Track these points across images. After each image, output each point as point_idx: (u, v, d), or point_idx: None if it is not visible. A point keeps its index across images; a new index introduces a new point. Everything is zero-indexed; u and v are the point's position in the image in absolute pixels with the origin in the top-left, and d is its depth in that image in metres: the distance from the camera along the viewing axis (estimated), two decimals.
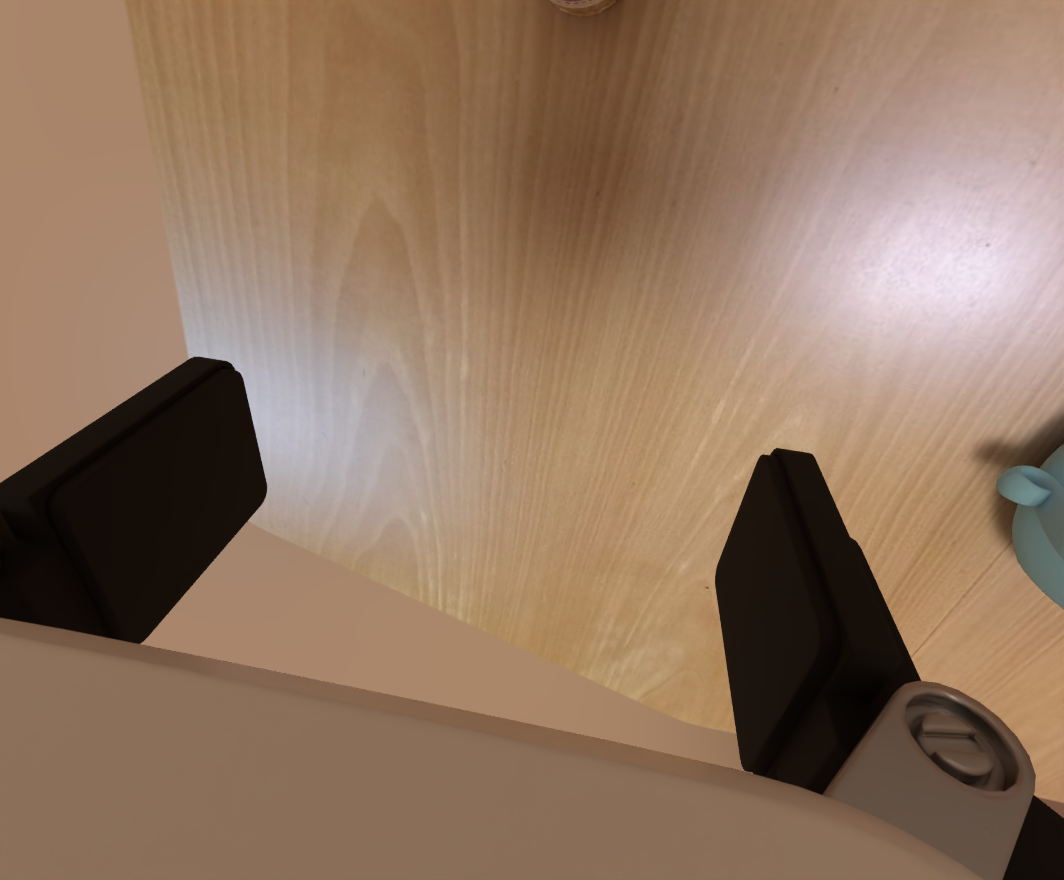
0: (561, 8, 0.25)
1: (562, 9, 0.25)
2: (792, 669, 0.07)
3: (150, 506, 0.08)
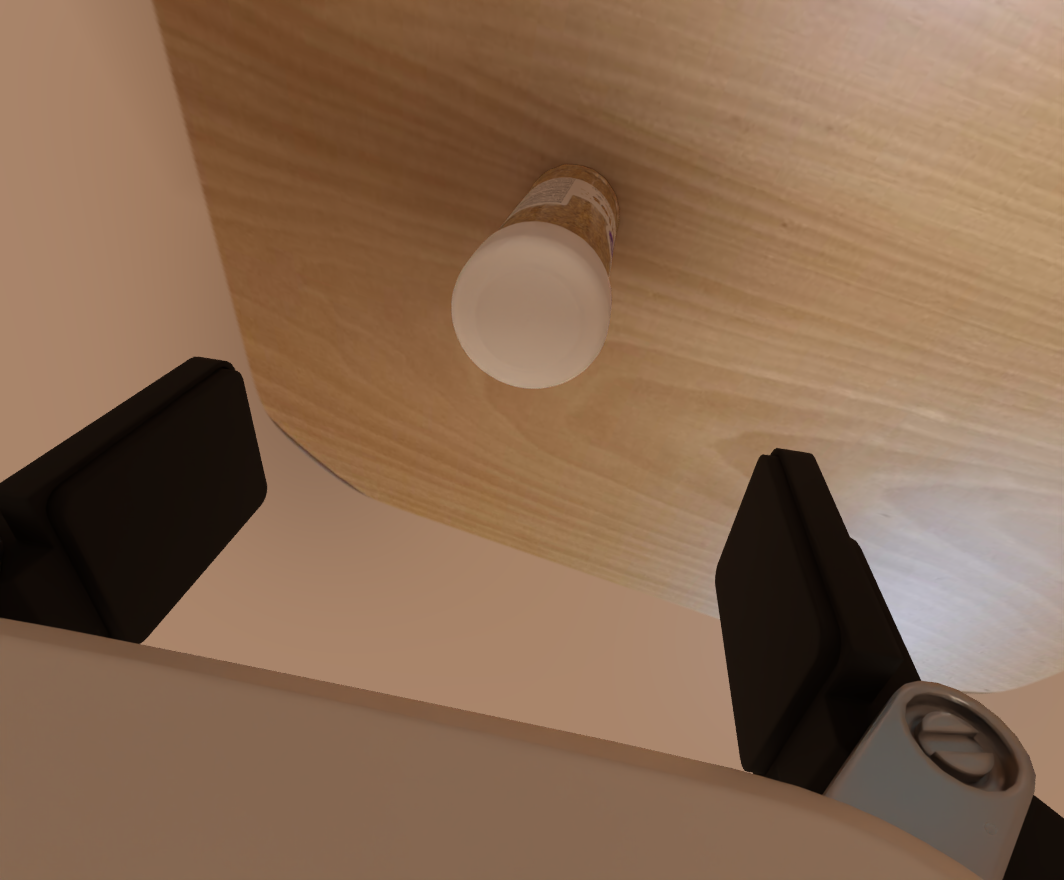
0: None
1: None
2: (792, 669, 0.07)
3: (150, 506, 0.08)
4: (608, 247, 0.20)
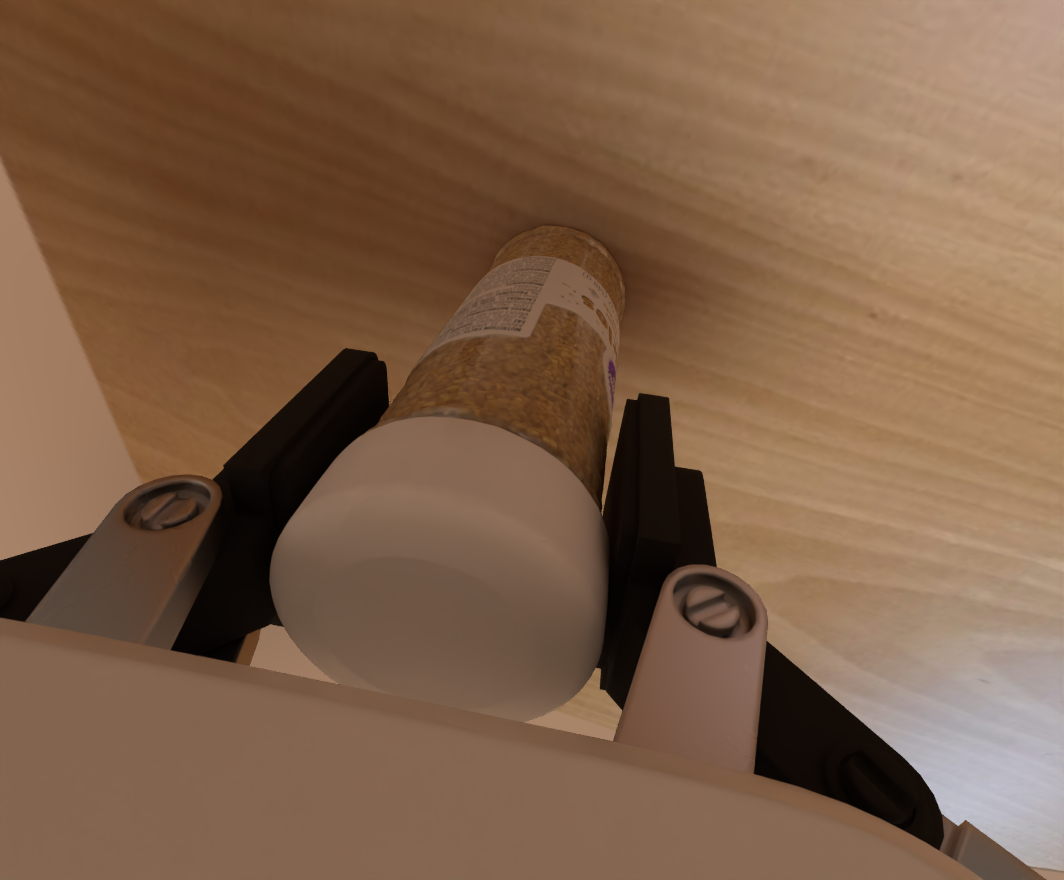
0: None
1: None
2: (611, 566, 0.08)
3: None
4: (606, 400, 0.11)
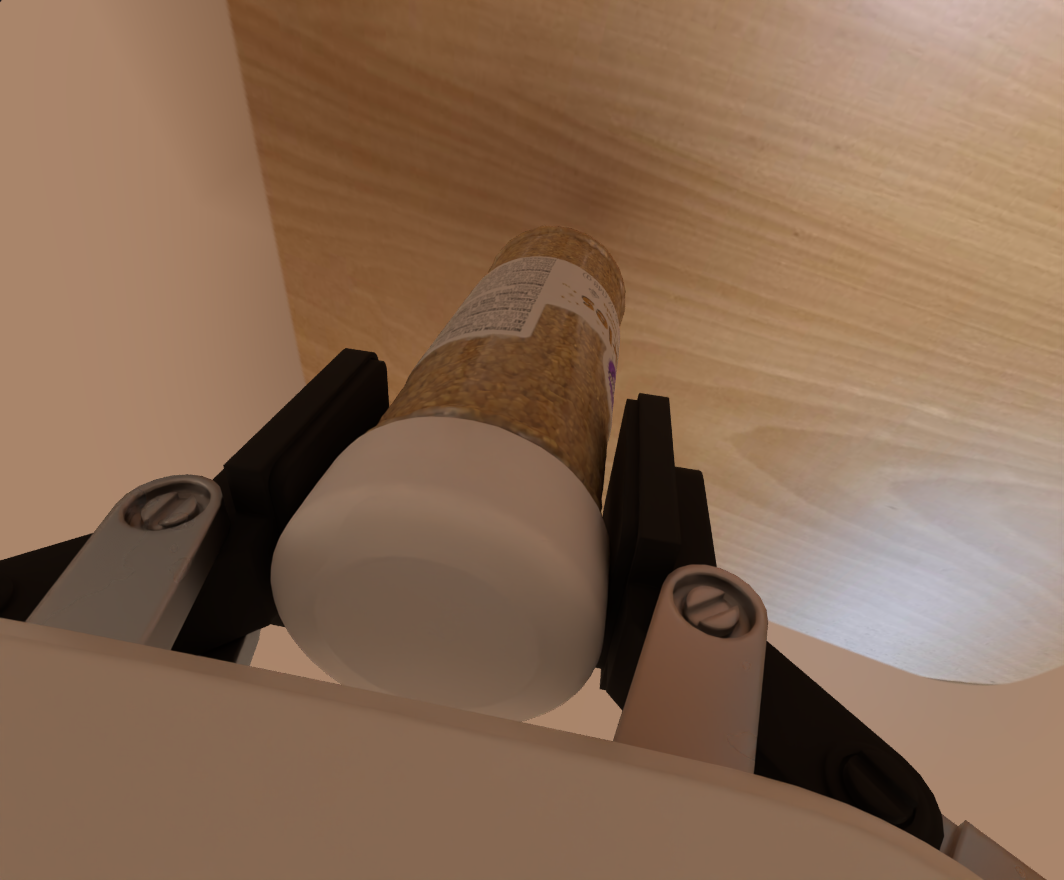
0: None
1: None
2: (611, 566, 0.08)
3: None
4: (606, 399, 0.11)
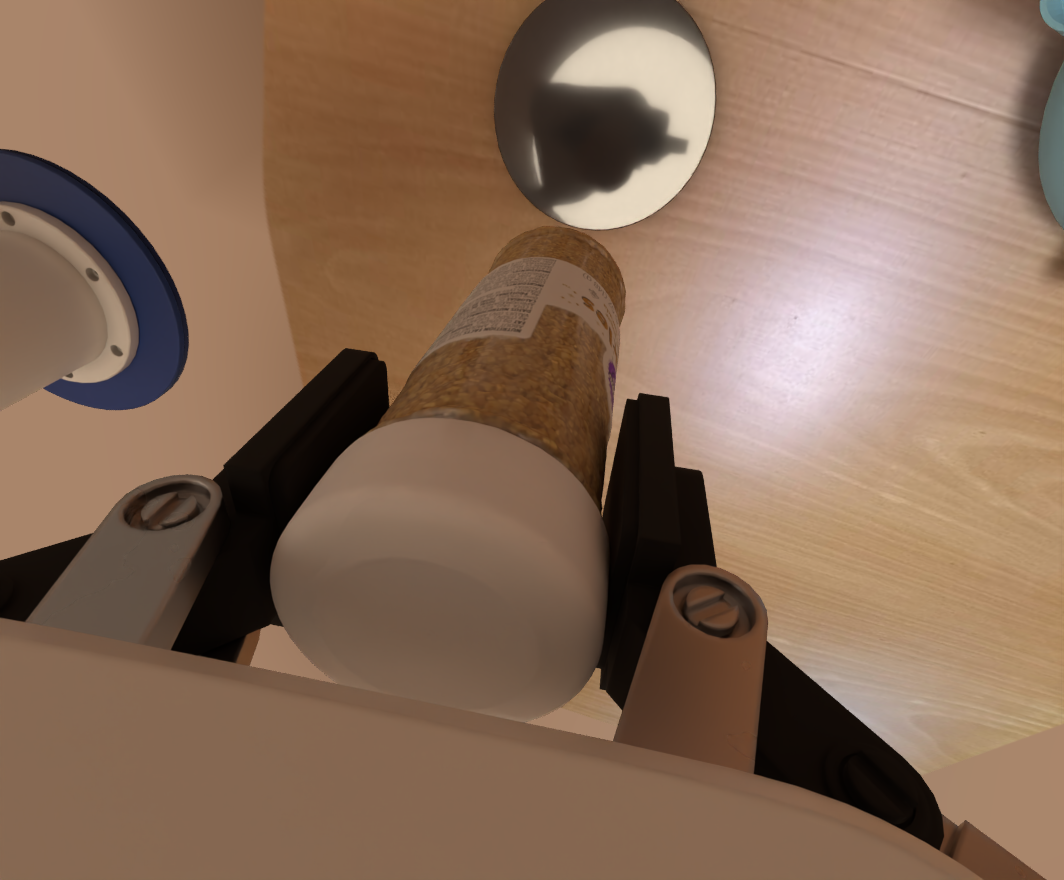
0: None
1: None
2: (611, 566, 0.08)
3: None
4: (606, 400, 0.11)
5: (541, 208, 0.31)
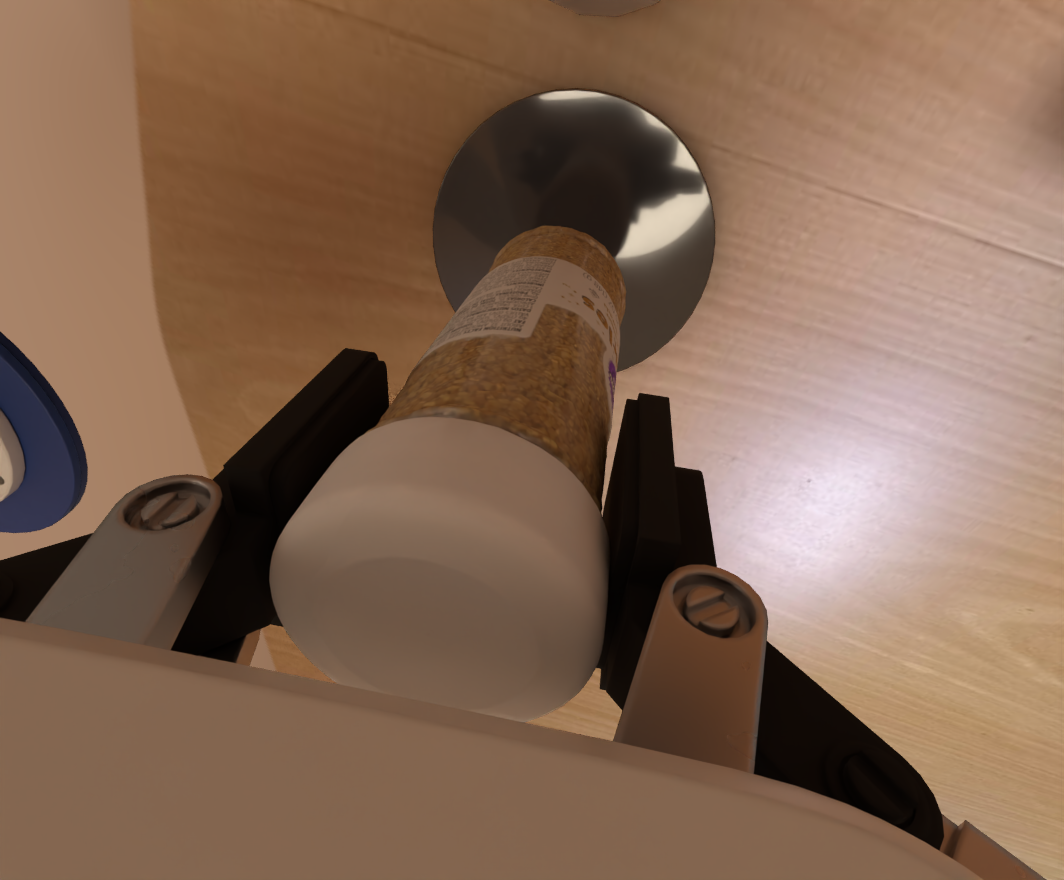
0: None
1: None
2: (611, 566, 0.08)
3: None
4: (606, 400, 0.11)
5: None
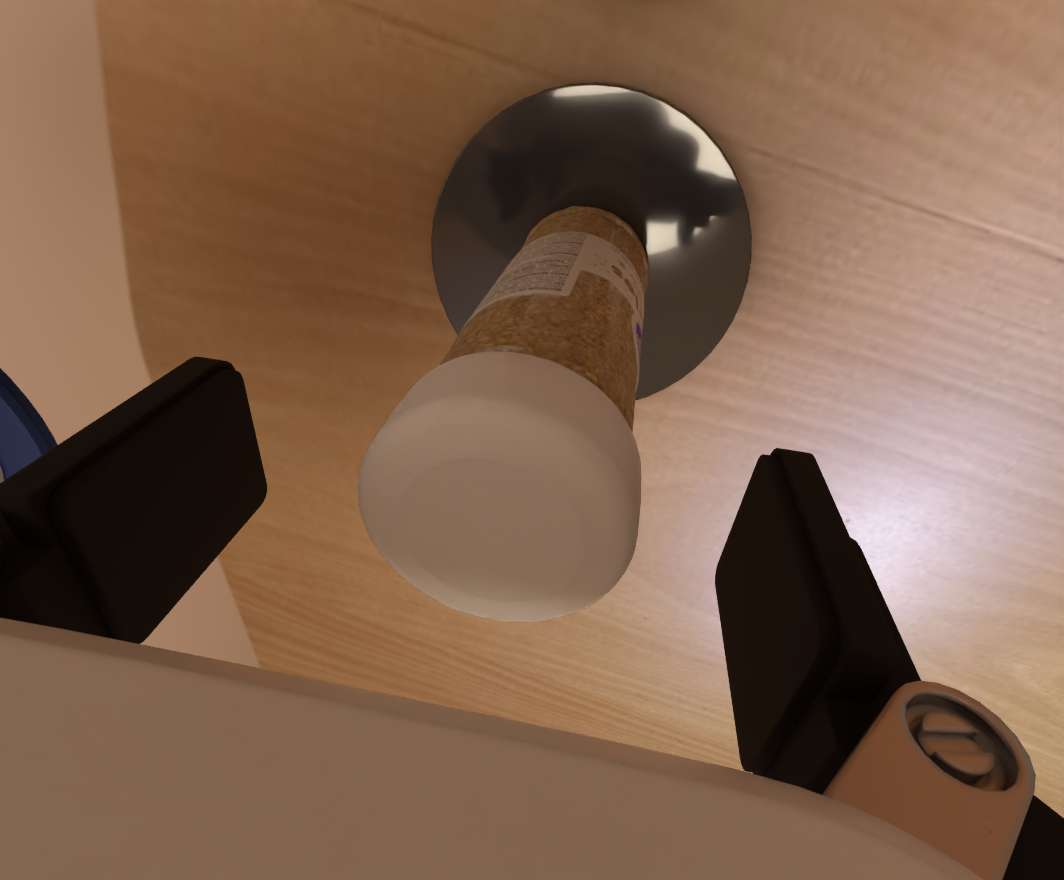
0: None
1: None
2: (792, 669, 0.07)
3: (150, 506, 0.08)
4: (634, 355, 0.13)
5: None
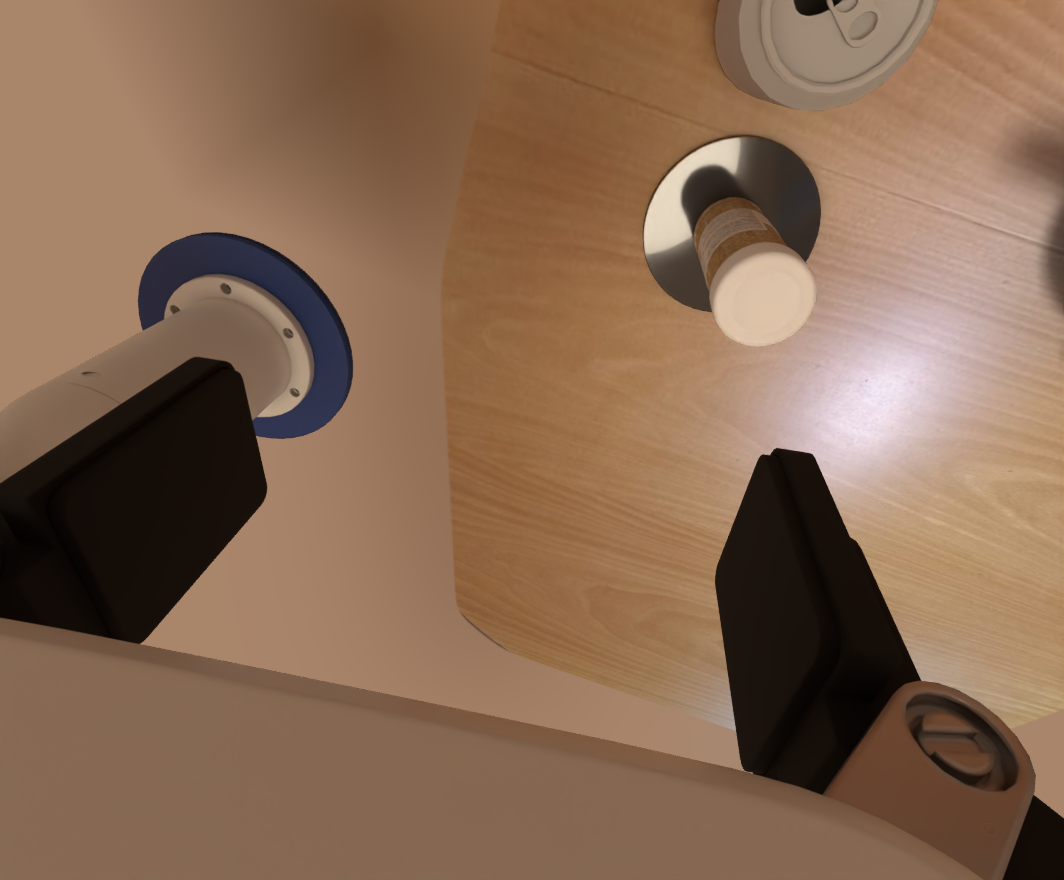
0: None
1: None
2: (792, 669, 0.07)
3: (150, 506, 0.08)
4: None
5: (671, 295, 0.40)
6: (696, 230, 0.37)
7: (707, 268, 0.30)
